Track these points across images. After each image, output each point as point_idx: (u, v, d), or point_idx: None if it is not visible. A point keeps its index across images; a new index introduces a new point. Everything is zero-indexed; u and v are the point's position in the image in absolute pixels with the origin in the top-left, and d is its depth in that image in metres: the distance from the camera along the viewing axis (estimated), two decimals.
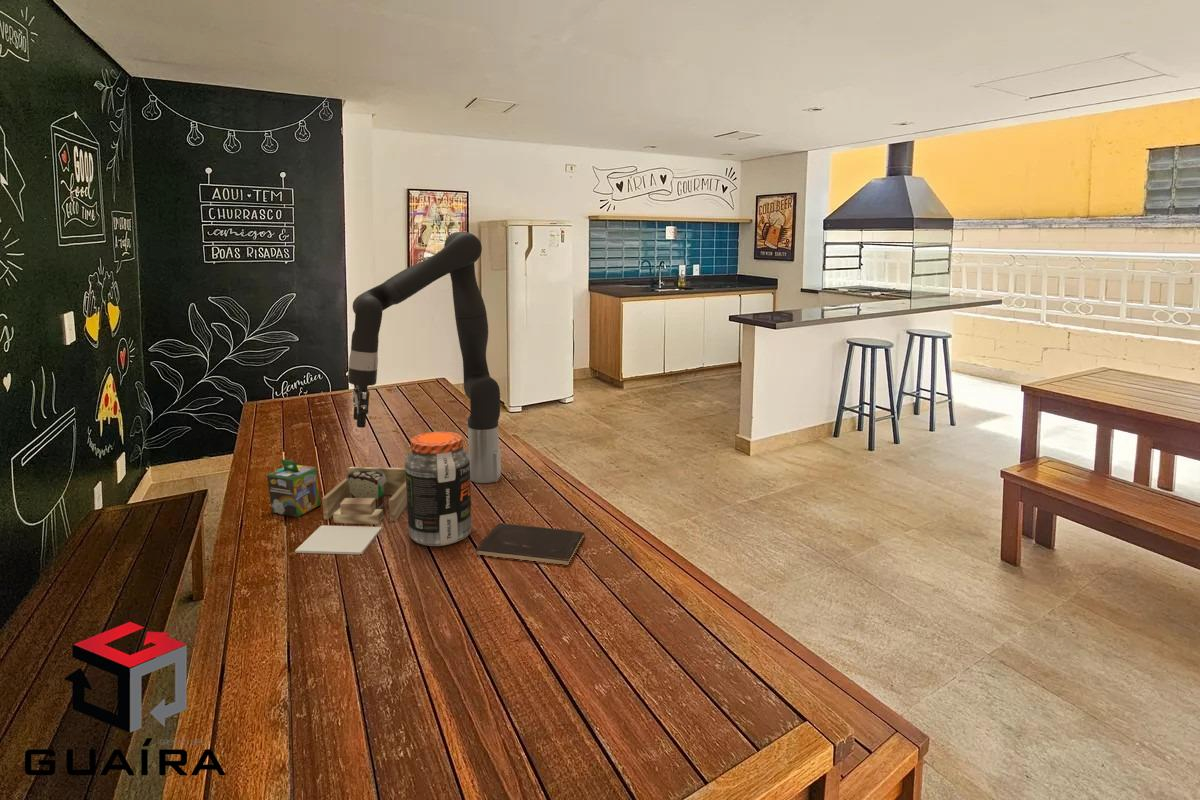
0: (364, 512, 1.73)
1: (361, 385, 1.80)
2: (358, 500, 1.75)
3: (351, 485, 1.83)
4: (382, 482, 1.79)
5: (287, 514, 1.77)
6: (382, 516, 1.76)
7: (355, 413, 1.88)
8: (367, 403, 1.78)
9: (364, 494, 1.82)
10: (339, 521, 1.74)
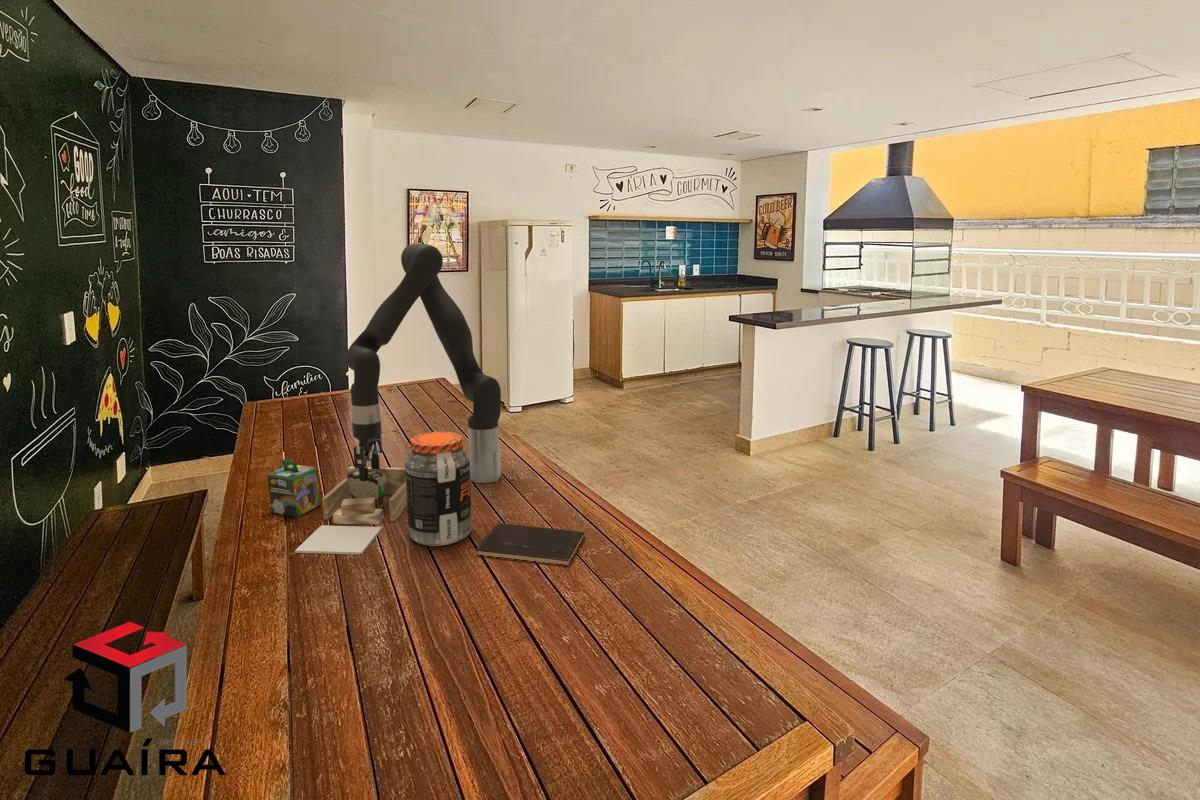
0: (366, 511, 1.73)
1: (360, 439, 1.77)
2: (358, 500, 1.75)
3: (351, 485, 1.83)
4: (382, 482, 1.79)
5: (287, 514, 1.77)
6: (382, 516, 1.76)
7: (372, 464, 1.86)
8: (361, 458, 1.74)
9: (364, 494, 1.82)
10: (339, 522, 1.73)
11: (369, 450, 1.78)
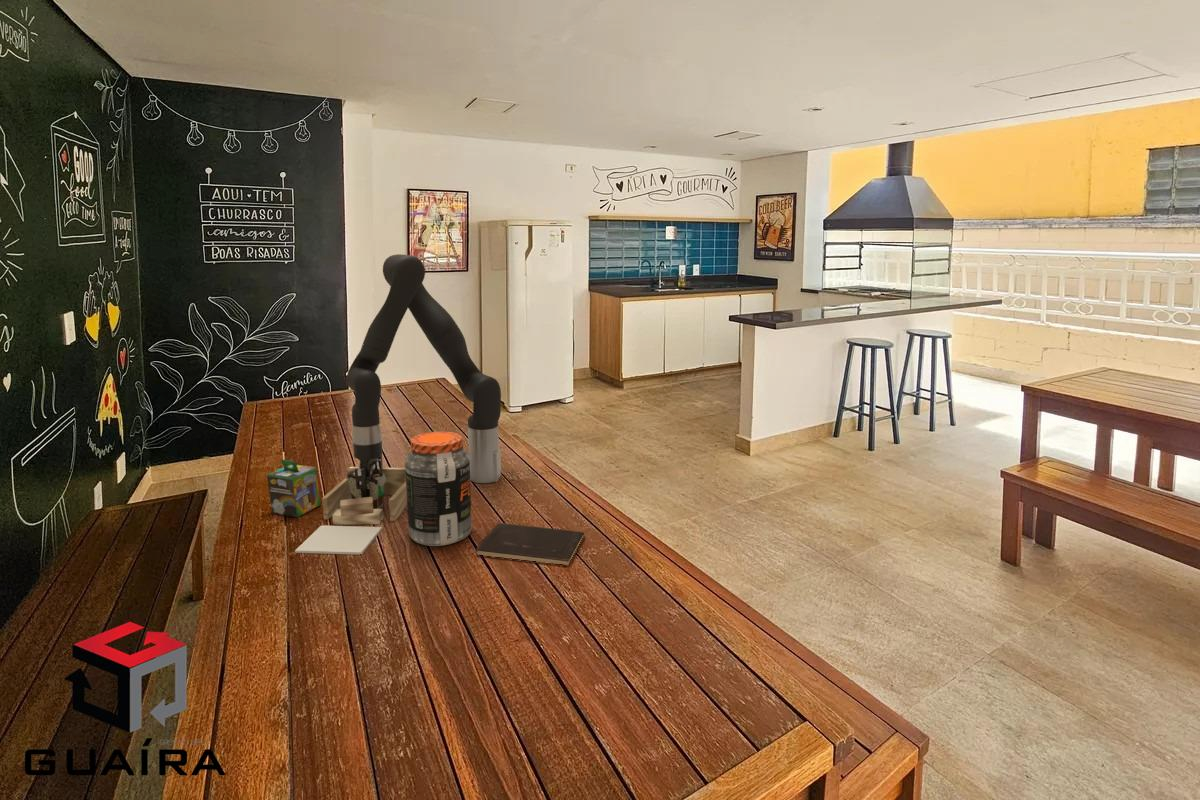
0: (365, 511, 1.73)
1: (361, 459, 1.78)
2: (356, 500, 1.74)
3: (351, 485, 1.83)
4: (382, 482, 1.79)
5: (287, 514, 1.77)
6: (382, 516, 1.76)
7: None
8: (363, 480, 1.76)
9: None
10: (338, 522, 1.73)
11: (370, 471, 1.80)
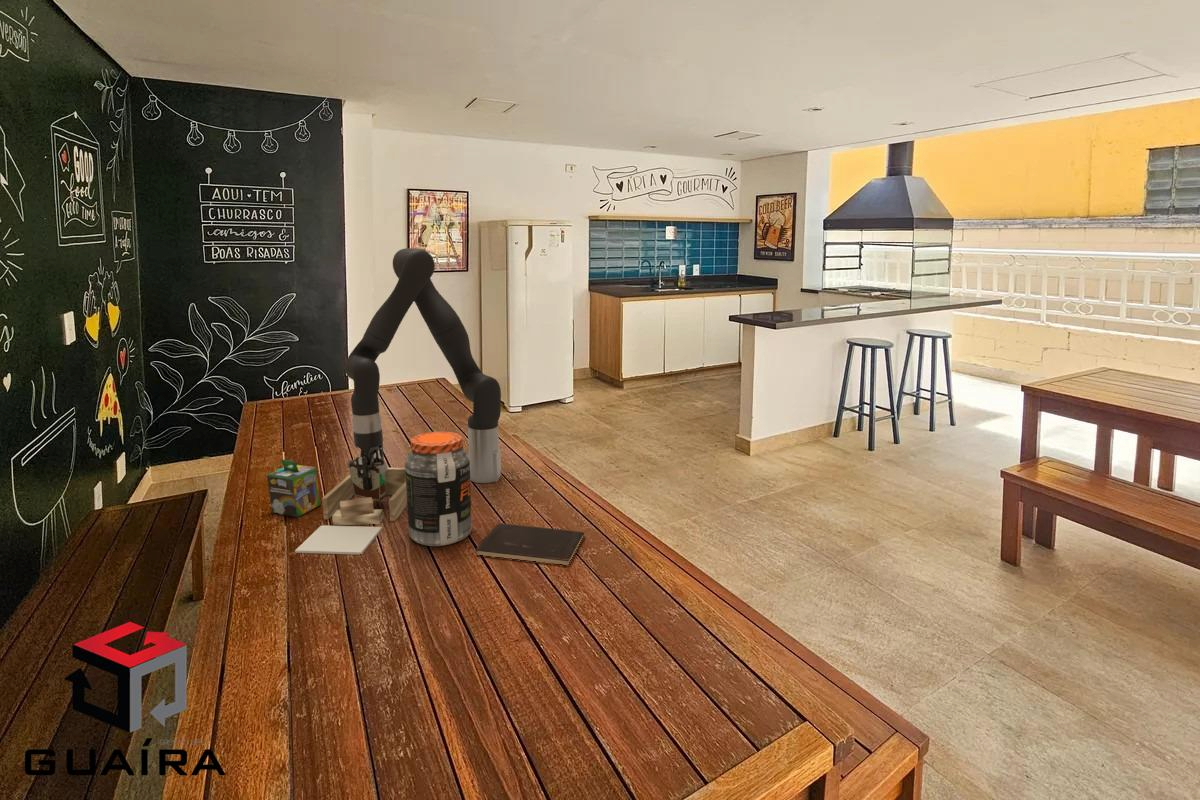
0: (366, 511, 1.73)
1: (361, 448, 1.77)
2: (356, 501, 1.74)
3: (352, 474, 1.83)
4: (384, 470, 1.79)
5: (287, 514, 1.77)
6: (382, 516, 1.76)
7: None
8: (364, 468, 1.76)
9: None
10: (338, 523, 1.73)
11: (371, 459, 1.79)
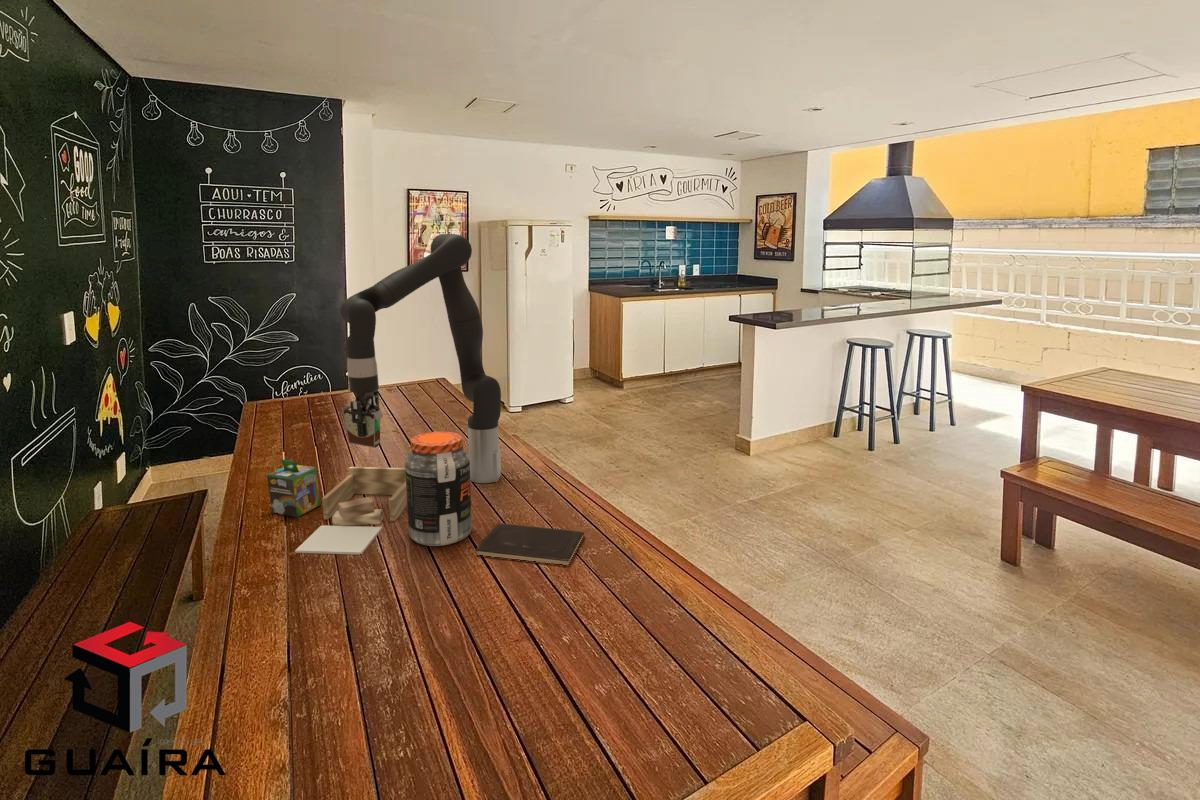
0: (367, 511, 1.74)
1: (356, 392, 1.74)
2: (355, 501, 1.74)
3: (347, 421, 1.79)
4: (379, 416, 1.75)
5: (287, 514, 1.77)
6: (382, 516, 1.76)
7: None
8: (359, 413, 1.72)
9: None
10: (338, 524, 1.72)
11: (366, 405, 1.76)
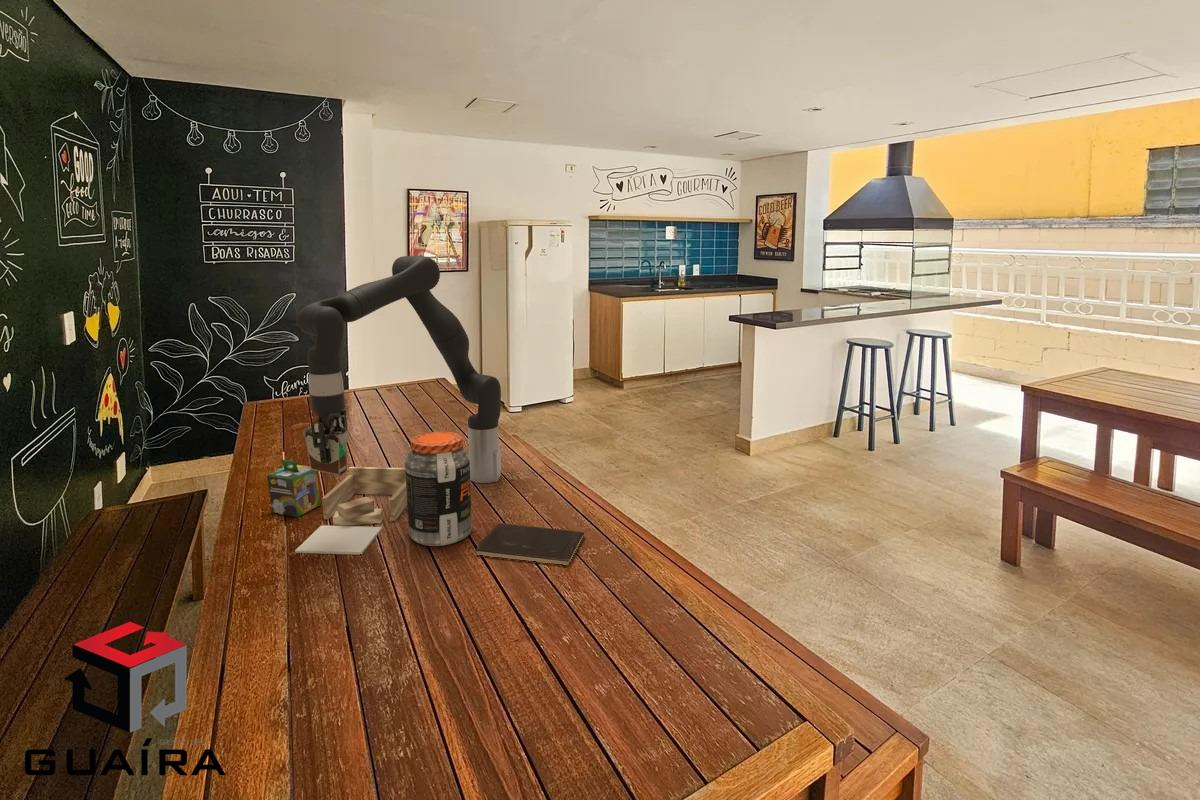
0: (367, 510, 1.74)
1: (319, 413, 1.52)
2: (354, 502, 1.74)
3: (309, 444, 1.58)
4: (344, 439, 1.54)
5: (287, 514, 1.77)
6: (382, 515, 1.77)
7: None
8: (321, 436, 1.51)
9: None
10: (339, 524, 1.72)
11: (330, 427, 1.54)
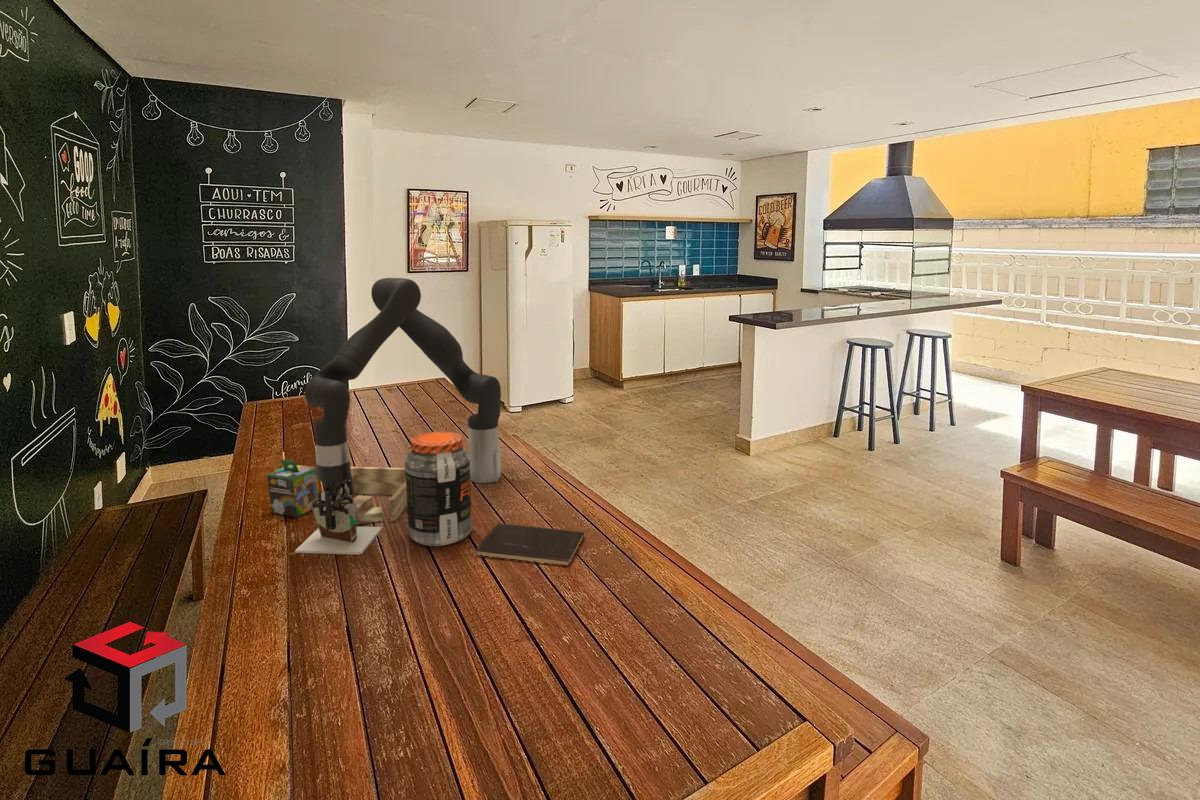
0: (369, 507, 1.76)
1: (326, 482, 1.56)
2: (356, 501, 1.74)
3: (317, 515, 1.62)
4: (353, 510, 1.59)
5: (287, 514, 1.77)
6: None
7: None
8: (327, 505, 1.54)
9: None
10: None
11: (336, 495, 1.58)
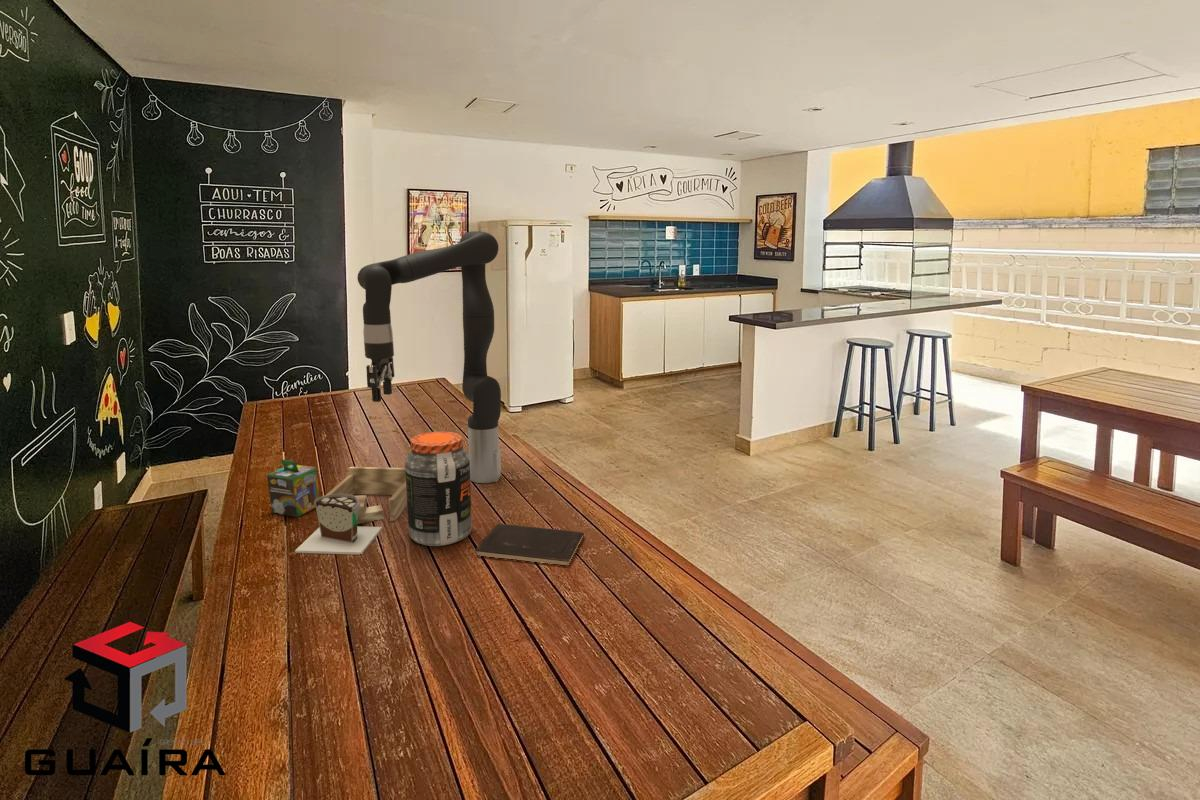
0: (366, 505, 1.77)
1: (372, 358, 1.76)
2: None
3: (320, 513, 1.63)
4: (357, 509, 1.60)
5: (287, 514, 1.77)
6: None
7: (384, 388, 1.86)
8: (374, 377, 1.74)
9: (336, 523, 1.62)
10: None
11: (382, 370, 1.78)
